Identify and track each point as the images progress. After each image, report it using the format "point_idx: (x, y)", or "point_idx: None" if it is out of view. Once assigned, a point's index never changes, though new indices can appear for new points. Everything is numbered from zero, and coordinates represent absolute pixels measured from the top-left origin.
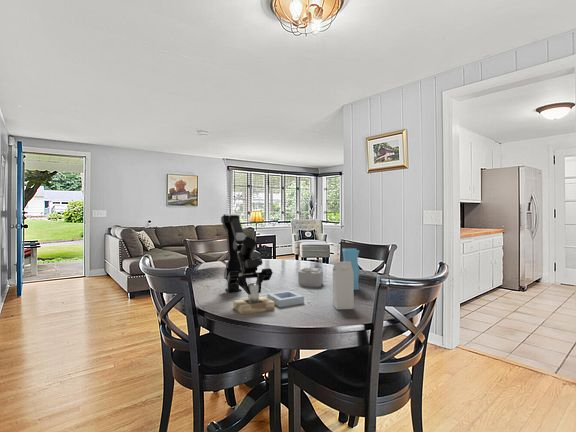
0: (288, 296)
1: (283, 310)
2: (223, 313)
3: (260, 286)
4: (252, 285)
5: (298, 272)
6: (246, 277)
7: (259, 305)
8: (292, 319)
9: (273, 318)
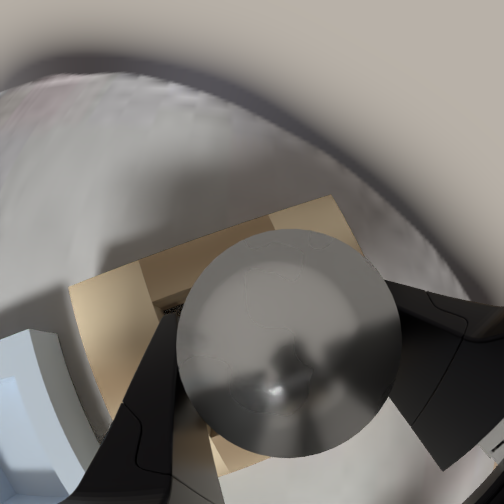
0: (15, 495)
1: (49, 262)
2: (412, 263)
3: (150, 364)
4: (317, 240)
5: None
6: (487, 485)
7: (198, 241)
8: (68, 127)
9: (139, 140)
